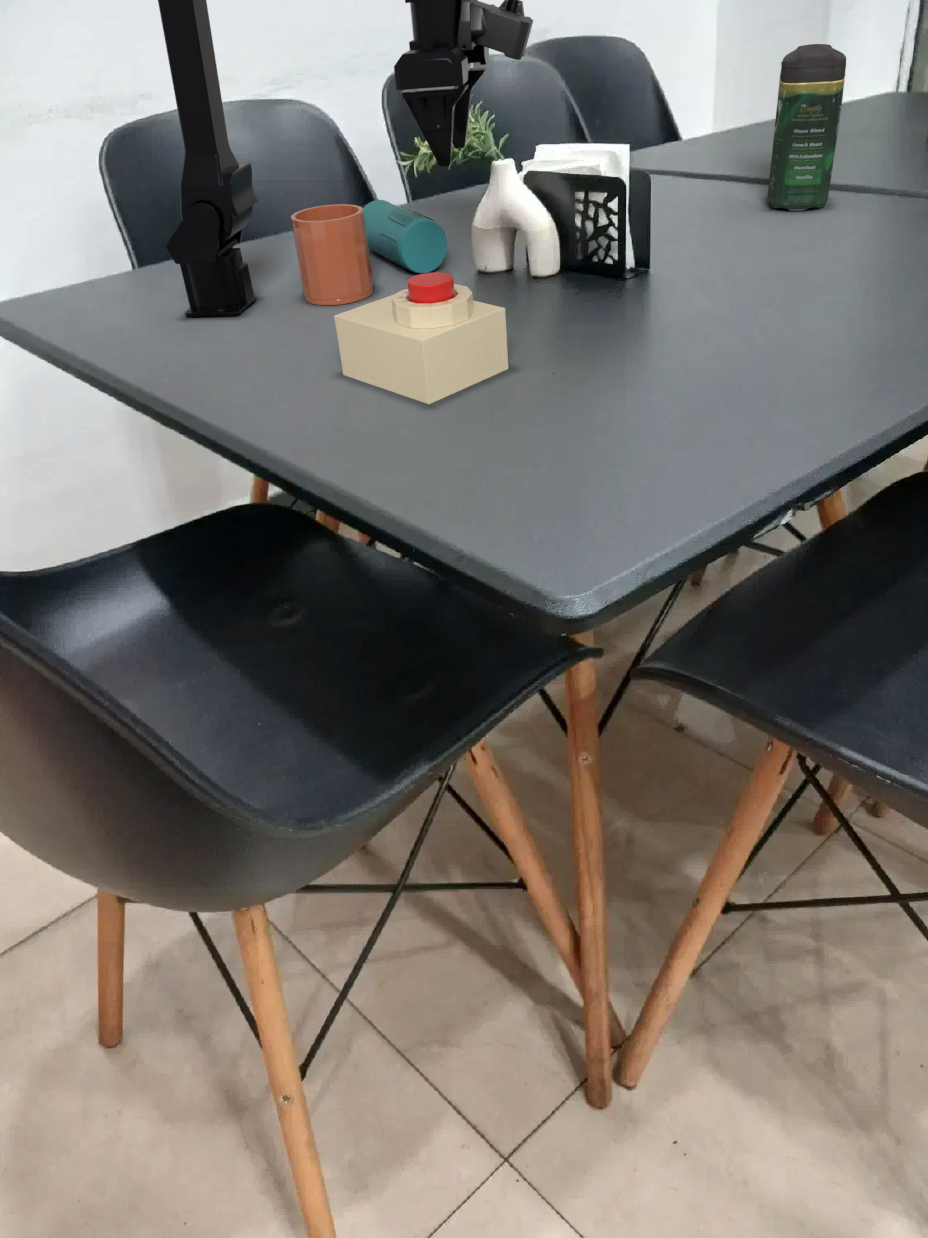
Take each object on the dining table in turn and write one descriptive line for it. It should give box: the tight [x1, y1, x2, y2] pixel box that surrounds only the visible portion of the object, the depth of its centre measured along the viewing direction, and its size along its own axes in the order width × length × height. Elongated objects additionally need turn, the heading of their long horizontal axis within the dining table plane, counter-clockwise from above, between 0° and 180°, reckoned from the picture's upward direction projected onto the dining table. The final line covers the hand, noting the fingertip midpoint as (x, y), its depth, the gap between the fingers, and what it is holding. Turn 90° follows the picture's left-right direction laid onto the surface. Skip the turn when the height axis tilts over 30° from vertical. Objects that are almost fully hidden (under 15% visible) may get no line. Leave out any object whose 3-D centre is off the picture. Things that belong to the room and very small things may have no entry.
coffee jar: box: [767, 43, 847, 212], centre depth 125 cm, size 10×8×19 cm
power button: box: [406, 271, 455, 304], centre depth 85 cm, size 4×4×2 cm
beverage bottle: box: [359, 199, 448, 275], centre depth 121 cm, size 6×7×20 cm
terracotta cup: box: [290, 203, 374, 306], centre depth 110 cm, size 8×8×9 cm
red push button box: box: [333, 283, 509, 405], centre depth 88 cm, size 12×10×8 cm
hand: (452, 156), depth 99 cm, fingers open, 9 cm apart
